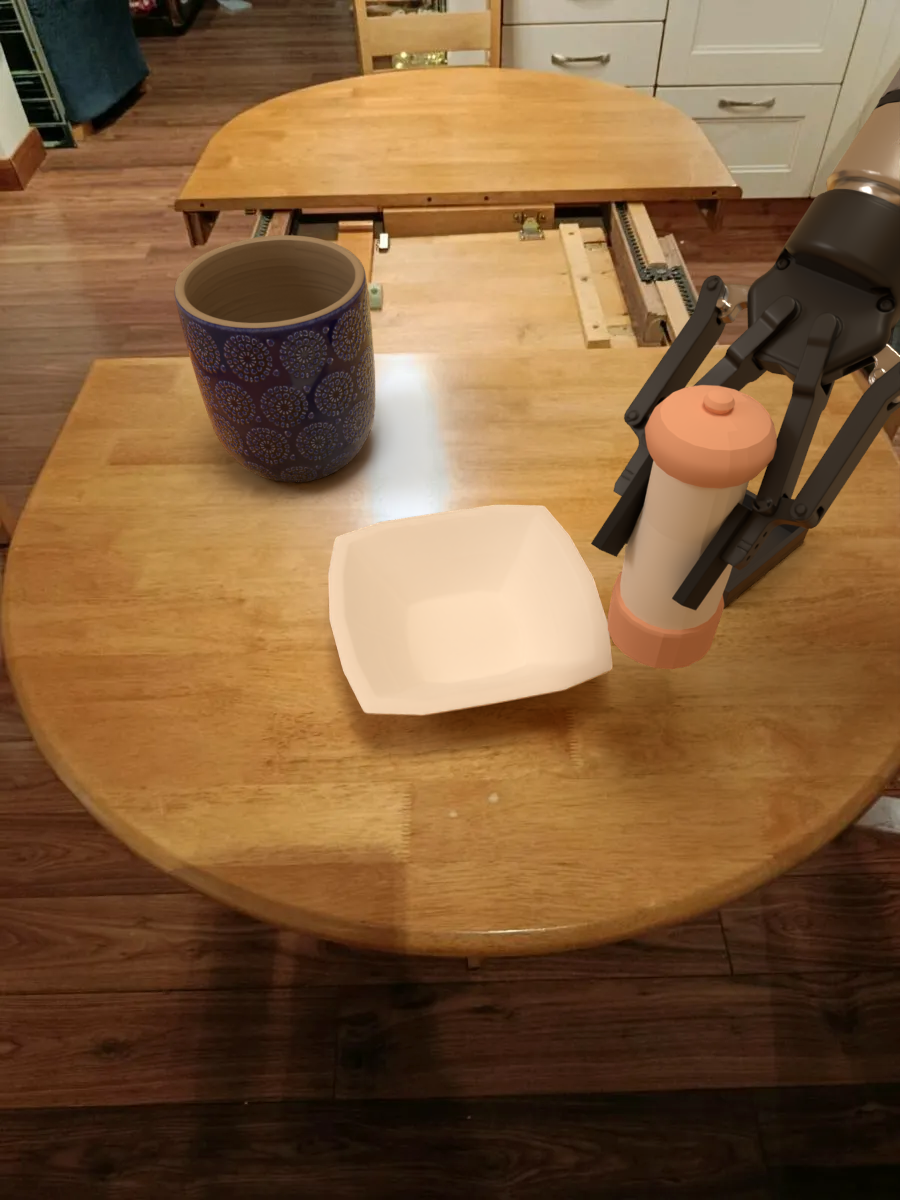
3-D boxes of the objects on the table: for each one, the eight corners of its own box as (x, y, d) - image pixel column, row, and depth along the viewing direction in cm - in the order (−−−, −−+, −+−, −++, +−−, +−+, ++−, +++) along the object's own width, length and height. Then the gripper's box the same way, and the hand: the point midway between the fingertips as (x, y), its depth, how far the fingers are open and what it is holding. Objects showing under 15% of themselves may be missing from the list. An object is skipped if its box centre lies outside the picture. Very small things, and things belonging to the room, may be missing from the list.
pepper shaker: (729, 615, 59) (811, 380, 45) (689, 686, 55) (765, 454, 41) (633, 575, 62) (682, 342, 48) (589, 640, 58) (628, 407, 44)
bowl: (627, 717, 71) (637, 676, 67) (352, 768, 68) (345, 728, 64) (552, 536, 86) (557, 494, 82) (324, 572, 83) (316, 529, 79)
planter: (350, 516, 89) (326, 339, 73) (190, 488, 92) (135, 313, 77) (402, 414, 100) (391, 243, 85) (259, 392, 104) (223, 225, 88)
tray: (803, 542, 85) (810, 525, 83) (723, 608, 79) (729, 592, 77) (696, 479, 92) (701, 462, 90) (615, 536, 86) (618, 519, 84)
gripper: (1051, 312, 45) (788, 669, 50) (754, 204, 54) (557, 513, 59) (1060, 247, 39) (758, 662, 44) (722, 137, 48) (505, 489, 53)
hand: (643, 576), depth 51 cm, fingers closed on pepper shaker, 5 cm apart
